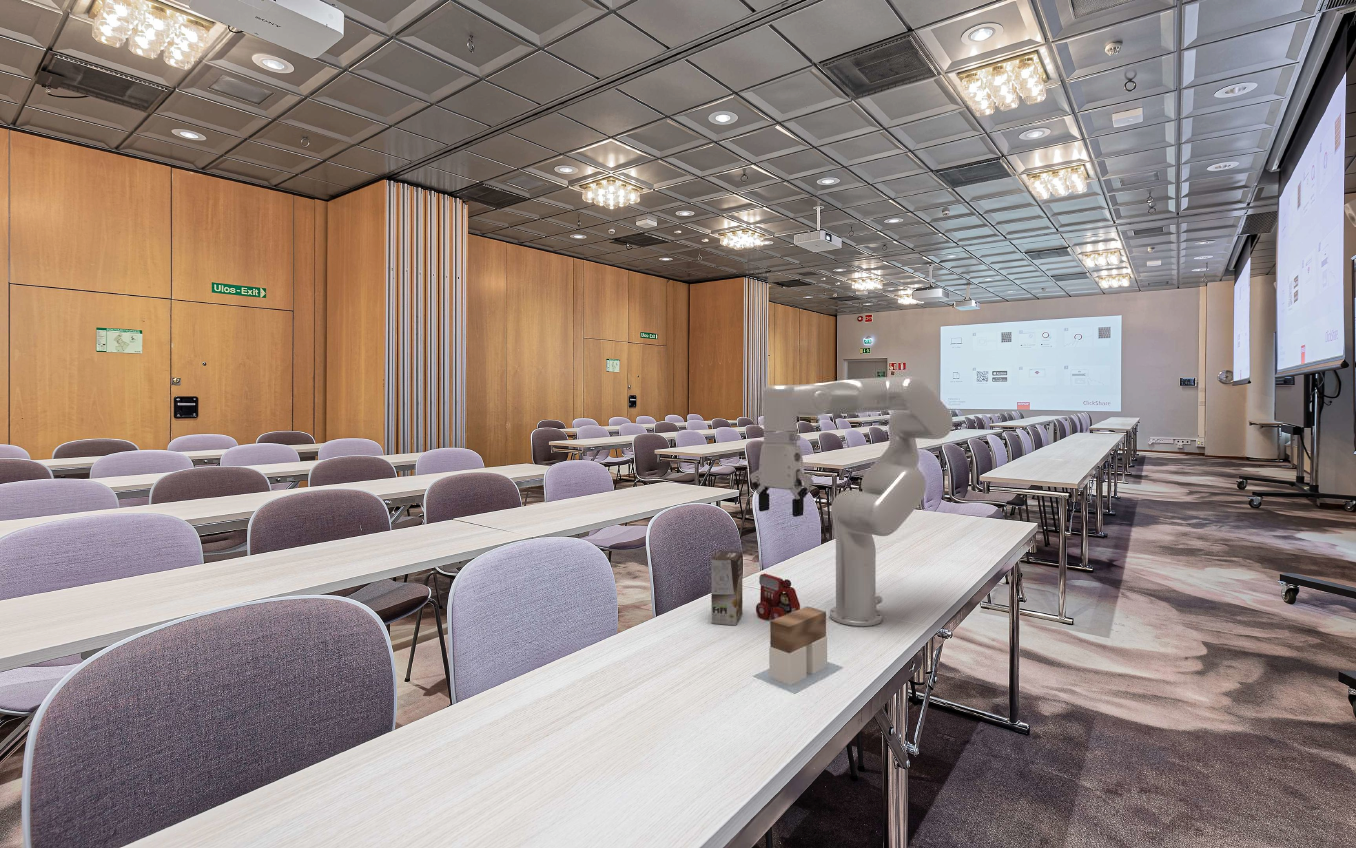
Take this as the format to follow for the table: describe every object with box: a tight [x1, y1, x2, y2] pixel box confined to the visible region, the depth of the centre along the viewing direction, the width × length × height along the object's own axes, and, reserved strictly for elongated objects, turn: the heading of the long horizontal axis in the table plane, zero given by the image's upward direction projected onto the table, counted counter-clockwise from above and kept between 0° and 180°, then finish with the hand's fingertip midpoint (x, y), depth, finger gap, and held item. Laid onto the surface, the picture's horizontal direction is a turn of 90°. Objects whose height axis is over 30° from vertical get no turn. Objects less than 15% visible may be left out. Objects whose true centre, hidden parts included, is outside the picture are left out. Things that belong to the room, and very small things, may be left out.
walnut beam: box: [769, 606, 827, 653], centre depth 121 cm, size 12×4×5 cm, turn 133°
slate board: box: [752, 661, 844, 695], centre depth 121 cm, size 16×10×1 cm, turn 133°
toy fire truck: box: [755, 573, 801, 620], centre depth 153 cm, size 7×12×10 cm, turn 38°
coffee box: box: [710, 550, 744, 626], centre depth 154 cm, size 9×6×16 cm
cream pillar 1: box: [768, 645, 806, 686], centre depth 118 cm, size 5×5×6 cm
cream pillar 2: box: [806, 636, 828, 674], centre depth 123 cm, size 5×5×6 cm
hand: (780, 513), depth 142 cm, fingers open, 9 cm apart
